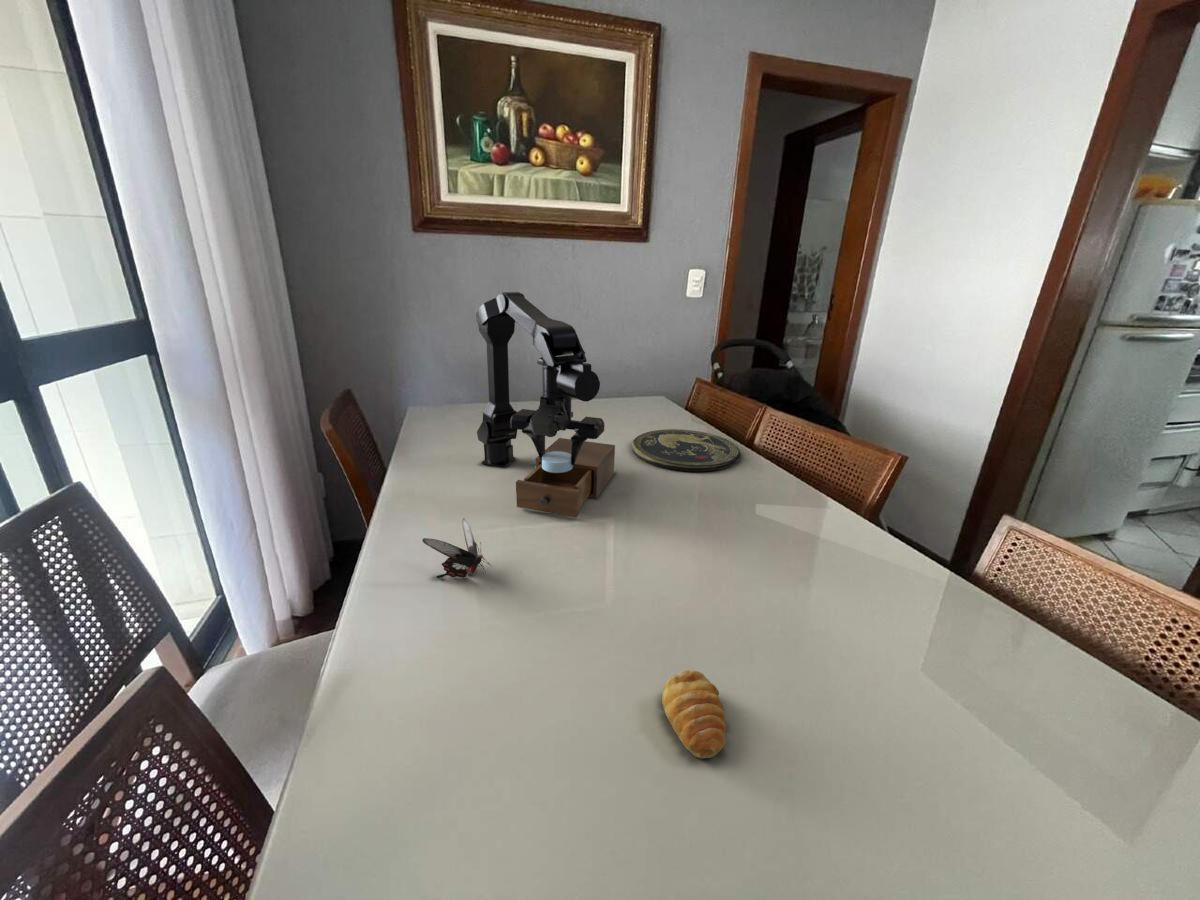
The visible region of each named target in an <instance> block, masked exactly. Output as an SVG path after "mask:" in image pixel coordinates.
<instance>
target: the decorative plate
mask: <svg viewBox="0 0 1200 900" xmlns="http://www.w3.org/2000/svg"><path fill="white" fill-rule="evenodd" d="M631 450H632V452H633V454H634V455H635V456H636V457H638V458H639V459H641V460H643V461H645V462H646V463H649V464H652V465H654V466H657V467H662V468H666V469H669V470H677V471H685V472H712V471H718V470H720V471H721V470H723V469H727V468H730V467H732V466H735V464H736V463H737V462H739V460H740V458H741V450H740V449H739V447H738V445H736V444H735V443H733V442H732V441H730V440H729V439H727V438H725V437H722V436H719V435H716V434H713V433H708V432H705V431H700V430H699V431H698V430H692V429H691V430H690V429H681V428H679V429H677V428H672V429H670V428H669V429H668V428H667V429H655V430H650V431H646V432H644V433H641V434H639V435H637V436H636V437H635V438H634V439H633V441H632V443H631Z"/></svg>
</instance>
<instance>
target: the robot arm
mask: <svg viewBox="0 0 1200 900" xmlns="http://www.w3.org/2000/svg"><path fill="white" fill-rule="evenodd" d="M475 319H476V323H477V327H478V332H479V333H480V335H481V336H482V338H483V339H484V341H485V343H486V363H487V383H488V384H487V385H488V403H487V405H486V407H485V408H484V409H483V412H482V421H481V423H480V425H479V427H478V428H477V430H476V435H477V440H478V441H479V442H481V443H482V444H483V453H484V454H483V455H484V459H483V460H482V461H481V465H483V466H484V465H485V466H492V467H498V468H505V467H506V466H508V465H510V463H512V462H513V461H514V460H515V458H516V457H515V456H514V445H513V444H512V440H516V439H517V435H518V430H520V431H521V433H522V434H525V435H527V436H528V437H529V438H530V439H531V441H532V443H533V445H534V447H535V450H536V452H537V455H538V456H539V457H540V460H542V456H543V455H544V454H545V450H546V437H547V438H553V437H556V435H557V434H558V432H559V431H566V430H571V431H574V434H573V435H572V436H571V437H570V439H571V441H572V451H571V465H574V464H575V461H576V459H577V456H578V454H579V451H580V449H581V447H582V444H583V442H584V441H587V440H588V439H589V440H597V439H598V438H599V437H600V436H601V435H602V434H603V433H604V432H605V421H604V419H602V418H601V417H595V416H594V417H593V416H585V417H583V418H582V419H581V420H576V419H575V420H573V419H572V418H573V417H574V411H572V399H576V400H578V401H581V402H590V401H592V400H593V399H595V398H596V397H597V395H598V393H599V391H600V388H601V381H600V378H599V375H598V374H597V373H596V372H595V371H593V370H592V363H588V362H587V357H586V355H585V354H586V351H585V350H584V348H583V346H582V344H581V341H580V338H579V336H578V334H577V331H576V329H575V328H574V326H572V325H571V324H568V323H567V322H564V321H562V320H557V319H553V318H550V317H549V316H547V315H546V314H545V313H544V312H543V311H541V309H539V308H538V307H536V306H535V305H534V304H533V303H531V302H530V301H529V300H528V299H526V297H525V295H524V294H523V293H522V292H519V291H504V292H501V293H499V294H498V295H497V296H496V297H494V298H492V299H489V300H487V301H486V302H483V303H482V304H481V305H480V306H479V308H478V309H477V310H476V312H475ZM516 323H517V324H518V325H519V326H521V328H523V329H524V330H525V331H526V332H527V333H528V334H530V336H531V337H532V345H533V346H534V348H535V349H536V350H537V352H538V353H539V354H540V356H541V357H540V358H538V360H537V361H536V364H538V365H540V366H541V367H542V368H541V371H542V372H541V374H542V375H541V377H542V395H541V396H540V397H539V398H540V399H539V405H538V408H537V409H536V410H535V409H526V408H522V409H520V410H518V411H517V410H515V409H514V408H513V406H512V405H511V402H510V378H509V377H510V376H509V375H510V374H509V373H510V372H509V342H510V341H511V339H512V337H513V336H514V334H515V329H516Z"/></svg>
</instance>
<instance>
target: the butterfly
mask: <svg viewBox="0 0 1200 900" xmlns="http://www.w3.org/2000/svg"><path fill="white" fill-rule="evenodd" d="M461 524H462V530H463V536H464V540H465V544H466V549H467V550H465V549H463V548H461V547H459V546H456V545H454V544H452V543H449V542H447V541H443V540H439V539H435V538H429V537H428V538H425V537H423V538H422V540H421V541H422V543H423V544H424V545H426V546H427V547H429V548H431V549H433V550H435V551H436V552H438V553H440V554H442V555H444V556H446V557H447V559H445V561H444V562H442V563H441V566H442V567H443V571H444V572H445V573H442V574H439V575H436V576H435V577H436V578H437V579H442V578H444V577H447V576H448V577H451V578H457V577H458V578H466V577H467V576H468V575H469V574H470V573H471V574H472V575H473V574H475V573H476V571H477V569H478V568H480V570H481V572H482V573H483V574H485V573H484V572H486V570H485V566H484V564H483V563H485V564H487V565H490V566H491V563H489V562H487V560H486V558H485V557H484V555H483V554H481V553H482V549H480V548H479V546H478V544H477V542H476V540H475V538H474V535H473V531H472V529H471V526H470V525H469V523H468V521H467V519H466V518H465V517H463V518H462V520H461ZM479 544H480V545H482V542H481V541H479Z"/></svg>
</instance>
